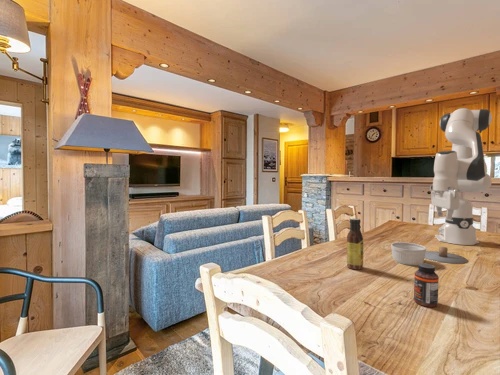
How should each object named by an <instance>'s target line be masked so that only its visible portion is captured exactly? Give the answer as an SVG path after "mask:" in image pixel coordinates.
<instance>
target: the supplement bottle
mask: <svg viewBox="0 0 500 375" xmlns="http://www.w3.org/2000/svg"><path fill="white" fill-rule="evenodd" d="M435 271H436V267H435V265H433V264H429V263H425V262H423V263H421V264H419V265H418V269H417V270H415V272H414V280H413V281H414V282H413V283H414V285H413V301H414V302H415V303H416V304H418V305H419V306H422V307H427V308H434V307H437V306H438V302H439V279H440V278H439V275H438V274H437V273H436V272H435Z"/></svg>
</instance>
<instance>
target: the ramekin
mask: <svg viewBox="0 0 500 375" xmlns="http://www.w3.org/2000/svg"><path fill="white" fill-rule="evenodd" d="M390 248H391V255H392V259H393V260H394V261H395V262H396V263H398V264H401V265H406V266H419V264H421V263H425V259H426V258H425V252H426V251H427V247H426V246H424V245H423V244H422V245H421V244H418V243H414V242H403V241H398V242H392V243H391V244H390Z"/></svg>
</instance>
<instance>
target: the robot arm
mask: <svg viewBox="0 0 500 375" xmlns="http://www.w3.org/2000/svg"><path fill="white" fill-rule="evenodd" d="M492 122H493V115H492V113H491V111H490V110H489V109H486V108H480V109H469V108H465V107H464V108H463V107H462V108H458V109H456V110H454V111H453V112H448V113H445V114H443V115H442V116H441V118H440V120H439V127H440V130H441V131H442V132H444V135H445V138H446V140H447V141H448V142H450V143H451V144H452V145H451V150H444V151H443V150H442V151H438V152H436V154H435V158H434V163H433V174H434V177H433V179H432V184H431V185H430V186H429V190H430V191H431V192H430V198H431V199H430V200H431V205H432V206H434V207H435V210H436V216H438V217H443V209H446V215H445V218H444V219H445V221H444V222H445V223H443V224H442V225H441V226H440V227H439V228H437V232H438V233H439V234H438V233H437V234H435V235H434V237H435V238H436V239H437V240H438V241H439V242H444V243H449V244H454V245H462V246H463V245H464V246H474V245H477V244H480V241H479V240H477V232H476V227H475V226H473V225H474V217H473V208H474V207H473V203H472V202H471V200H468V199H467V198H465V197H463V196H462V195H461V192H462V193H478V192H479V193H482V192H487V191H488V190H489V189H490V188H491V186H492V177H491V176H490V175H489V173H487V172H488V165H487V163H486V161H485V155H484V148H483V147H484V146H483V141H482V136H481V133H482V131H486V129H488V128H489V127H490V125H491V123H492Z"/></svg>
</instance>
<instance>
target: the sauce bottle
mask: <svg viewBox="0 0 500 375" xmlns="http://www.w3.org/2000/svg"><path fill="white" fill-rule="evenodd" d="M349 224H350V225H349V231H348V233H347V235H346V239H347V240H346V241H347V242H346V263H347V268H348V269H351V270H362V269H363V268H364V267H363V266H364V236H363V234H362V231H361V219H360V218H349Z"/></svg>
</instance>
